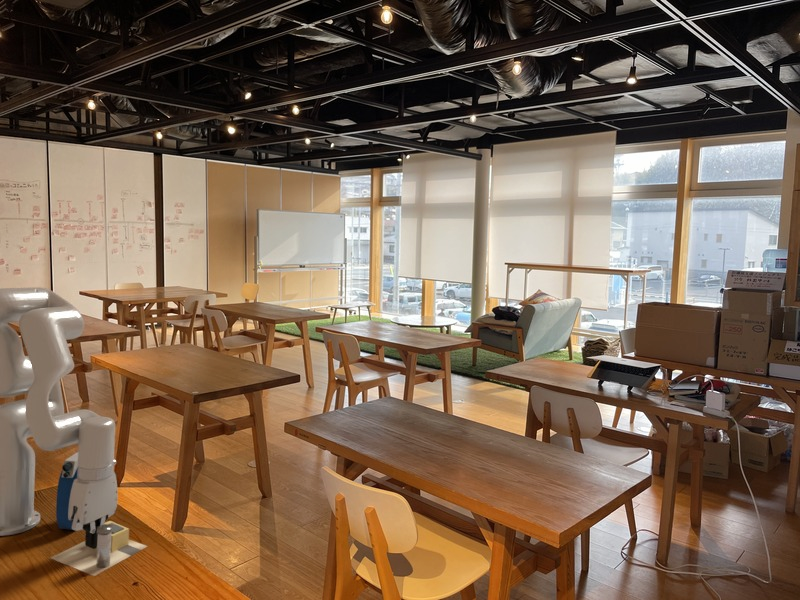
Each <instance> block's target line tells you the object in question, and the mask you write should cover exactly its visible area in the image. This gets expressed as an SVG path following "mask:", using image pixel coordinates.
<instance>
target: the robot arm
mask: <svg viewBox="0 0 800 600" xmlns="http://www.w3.org/2000/svg"><path fill="white" fill-rule="evenodd" d="M9 323H18V328H19V332H20V335H21V337H20V336H19V334H18V333H17V331H16V330H15V329H14V328H13V327H12V326H11V325H9ZM84 330H85V320H84V317H83V315H82V314H81V312H80V311H79V309H77V308H76V306H74V305H73V304H71V302H69V301H68V300H66V299H64V298H63V297H62V296H60V295H59V294H57V293H56V292H54V291H53V290H51V289H48V288H45V287H38V286H37V287H36V286H35V287H5V288H3V287H1V288H0V399H1V398H9V397H16V396H20V395H21V396H22V395H25V394H27V396H26V398H23V399H20V400H15V401H11V402H7V403H2V404H0V536H3V537H4V536H10V535H11V536H12V535H17V534H20V533H24V532H26V531H29V530H30V529H33V528H35V526H38V524H39V523H40V522H41V514H40V512H38V511H37V510H35V509H34V508H35V507H34V506H35V501H34V500H35V484H36V483H35V478H36V475H35V474H36V454H35V450H34V449H33V447H32V446H31V445H30V444H29V443H28V440H27V439H28V438H31V437H32V439H33V440H34V443H35V444H36V445H37V446H38V448H39V449H41V450H43V451H46V452H47V451H48V452H53V451H57V450H60V449H63V448H68V447H69V446H72V445H77V444H78V446H77V449H78V450H77V452H78V472H77V479H75V480H74V482H73V485H72V489H71V494H70V500H69V509H68V519H69V520H70V521H73V524H72V529H73V531H76V532H77V531H81V530H82V531H84V532H85V538H84V539H85V540H84V541H85V545H86V546H88V547H90V548H93V549H95V548H97V537H98V533H97V527H98V526H100V525H105V522H107V521H108V519H109V518H110V517H111V516H113V515H114V514H115V513H116V510H117V507H118V498H119V497H118V495H119V494H118V484H117V483H118V482H117V475H116V472H115V471H114V467H115V465H117V460H116V459H115V448H116V447H115V446H116V443H115V442H116V438H115V437H116V422H115V420H114V419H113V418H111V417H108V416H102V415H99V414H97V413H96V412H94V411H93V410H90V409H85V408H84V409H78V410H73V411H70V412H66V413H65V406H64V405H65V404H64V399H63V393H62V386H61V379H62V378H64V377H66V376H67V375H68V374H70V373H71V372H72V371H73V370H74V368H75V362H74V359H73V357H72V353H71V351H70V347H69V344H68V342H67V341H68V340H75V339H78V338H79V337H81V335H82V334H83V333H84ZM23 344H24V347H23ZM24 348H25V350H26V354H27V355H25V352H24Z"/></svg>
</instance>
